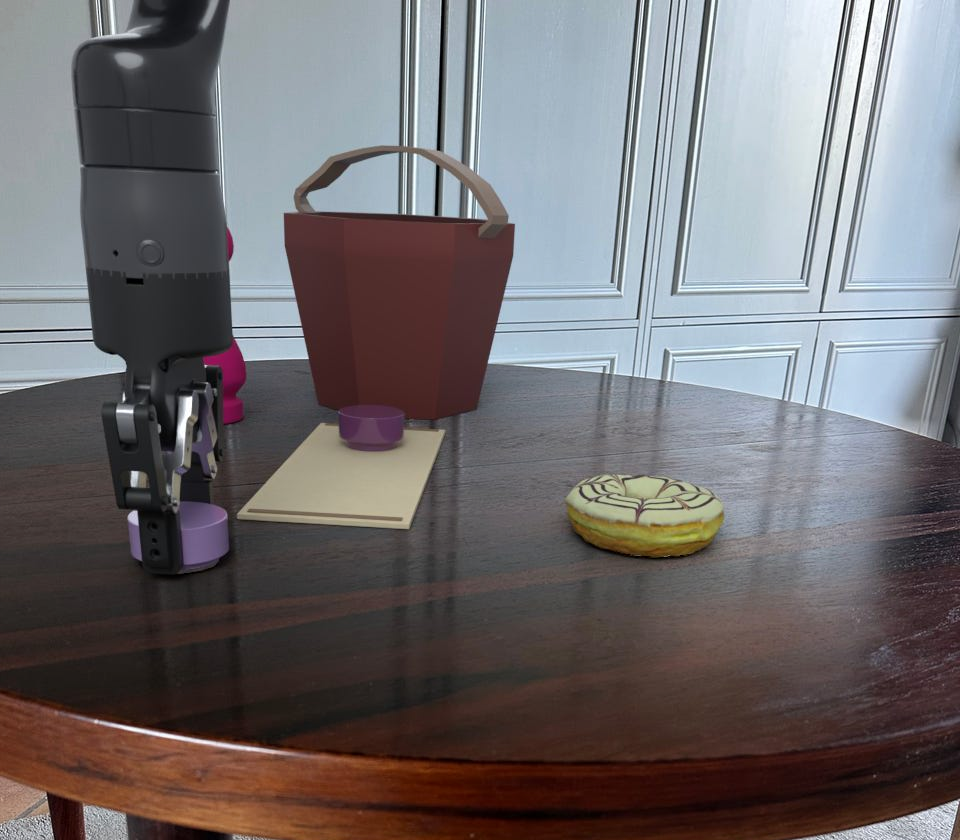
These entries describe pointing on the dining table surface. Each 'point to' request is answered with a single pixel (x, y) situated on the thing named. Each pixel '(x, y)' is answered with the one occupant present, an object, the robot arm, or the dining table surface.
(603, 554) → the dining table surface
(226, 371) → the pepper mill
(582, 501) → the decorated donut
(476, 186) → the bucket
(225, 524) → the lilac dish
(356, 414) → the plum dish
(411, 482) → the placemat
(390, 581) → the dining table surface
